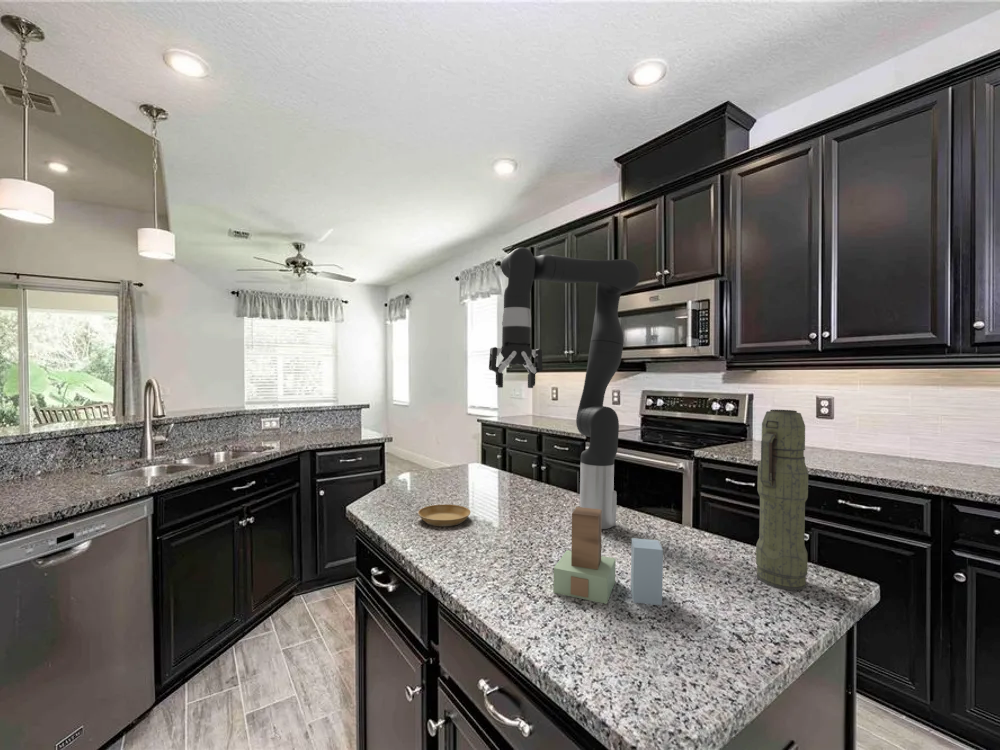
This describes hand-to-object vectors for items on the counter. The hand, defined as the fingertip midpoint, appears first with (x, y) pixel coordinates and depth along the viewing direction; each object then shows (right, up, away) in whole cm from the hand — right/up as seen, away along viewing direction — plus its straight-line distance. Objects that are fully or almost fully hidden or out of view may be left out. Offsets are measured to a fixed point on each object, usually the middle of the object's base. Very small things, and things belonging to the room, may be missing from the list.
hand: (515, 387), depth 119 cm
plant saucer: (-20, -38, +9) cm, 44 cm away
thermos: (+54, -39, -26) cm, 71 cm away
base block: (+13, -38, -31) cm, 51 cm away
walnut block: (+13, -33, -31) cm, 47 cm away
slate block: (+23, -38, -34) cm, 56 cm away
